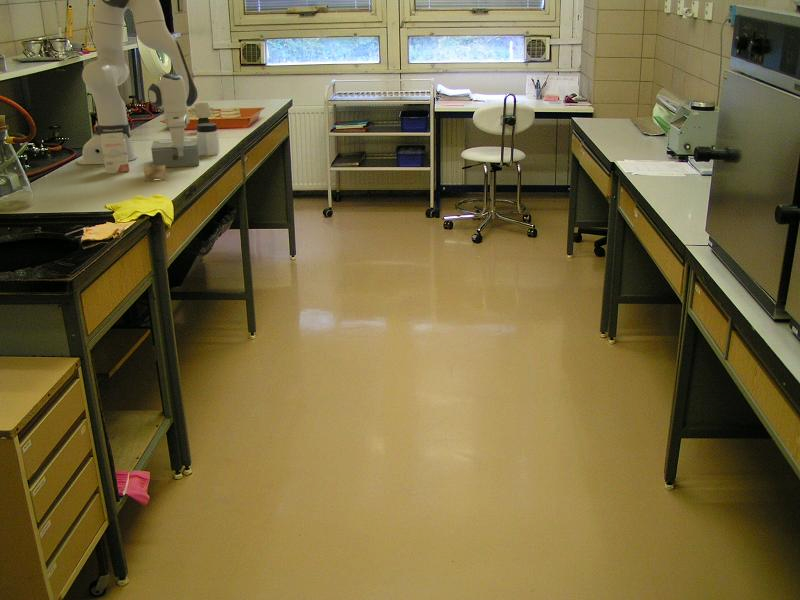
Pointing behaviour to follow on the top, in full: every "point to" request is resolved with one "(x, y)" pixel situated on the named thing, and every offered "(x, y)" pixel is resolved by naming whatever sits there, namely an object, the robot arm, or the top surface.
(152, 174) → the block
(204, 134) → the jar
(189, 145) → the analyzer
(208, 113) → the character mug
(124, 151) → the ink cartridge box
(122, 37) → the robot arm
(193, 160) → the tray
